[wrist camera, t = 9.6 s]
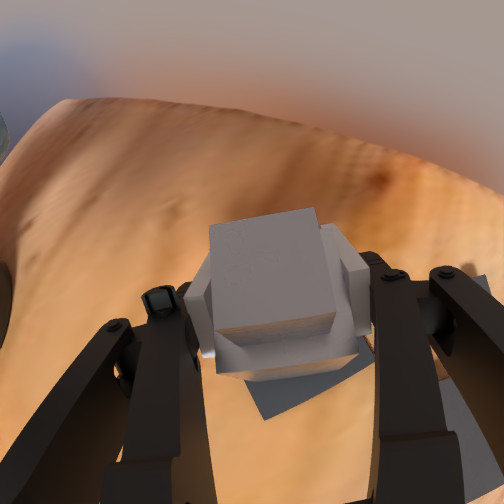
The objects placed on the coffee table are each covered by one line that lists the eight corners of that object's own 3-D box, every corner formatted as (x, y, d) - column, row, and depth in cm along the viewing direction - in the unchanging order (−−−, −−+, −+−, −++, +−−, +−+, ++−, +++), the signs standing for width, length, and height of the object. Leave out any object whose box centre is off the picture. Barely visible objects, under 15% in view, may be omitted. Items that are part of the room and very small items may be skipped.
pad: (216, 316, 21) (213, 314, 21) (316, 264, 22) (316, 261, 21) (265, 419, 18) (264, 420, 17) (374, 361, 18) (376, 360, 17)
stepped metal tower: (338, 369, 17) (377, 338, 7) (255, 381, 17) (183, 365, 8) (325, 291, 19) (336, 179, 9) (247, 304, 20) (182, 207, 10)
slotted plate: (503, 475, 11) (513, 478, 10) (398, 520, 12) (403, 527, 11) (477, 281, 19) (485, 274, 17) (373, 306, 20) (377, 300, 18)
